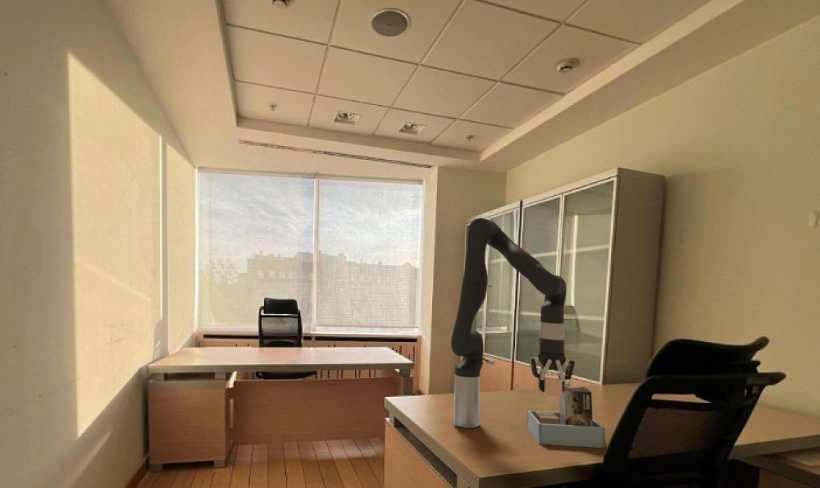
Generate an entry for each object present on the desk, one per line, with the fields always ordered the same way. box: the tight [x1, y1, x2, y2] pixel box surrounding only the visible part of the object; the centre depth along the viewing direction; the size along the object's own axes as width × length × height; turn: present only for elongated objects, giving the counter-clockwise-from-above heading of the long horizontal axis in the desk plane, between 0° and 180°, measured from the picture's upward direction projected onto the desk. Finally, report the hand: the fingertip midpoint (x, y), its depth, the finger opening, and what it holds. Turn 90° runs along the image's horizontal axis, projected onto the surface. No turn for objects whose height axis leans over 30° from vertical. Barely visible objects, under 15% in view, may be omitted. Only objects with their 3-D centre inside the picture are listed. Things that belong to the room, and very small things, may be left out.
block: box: [536, 412, 559, 425], centre depth 127 cm, size 6×6×6 cm
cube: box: [541, 374, 562, 397], centre depth 118 cm, size 5×5×5 cm
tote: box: [526, 410, 606, 449], centre depth 126 cm, size 21×15×6 cm
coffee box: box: [558, 385, 594, 427], centre depth 127 cm, size 9×6×16 cm
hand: (551, 392), depth 117 cm, fingers closed on cube, 5 cm apart
